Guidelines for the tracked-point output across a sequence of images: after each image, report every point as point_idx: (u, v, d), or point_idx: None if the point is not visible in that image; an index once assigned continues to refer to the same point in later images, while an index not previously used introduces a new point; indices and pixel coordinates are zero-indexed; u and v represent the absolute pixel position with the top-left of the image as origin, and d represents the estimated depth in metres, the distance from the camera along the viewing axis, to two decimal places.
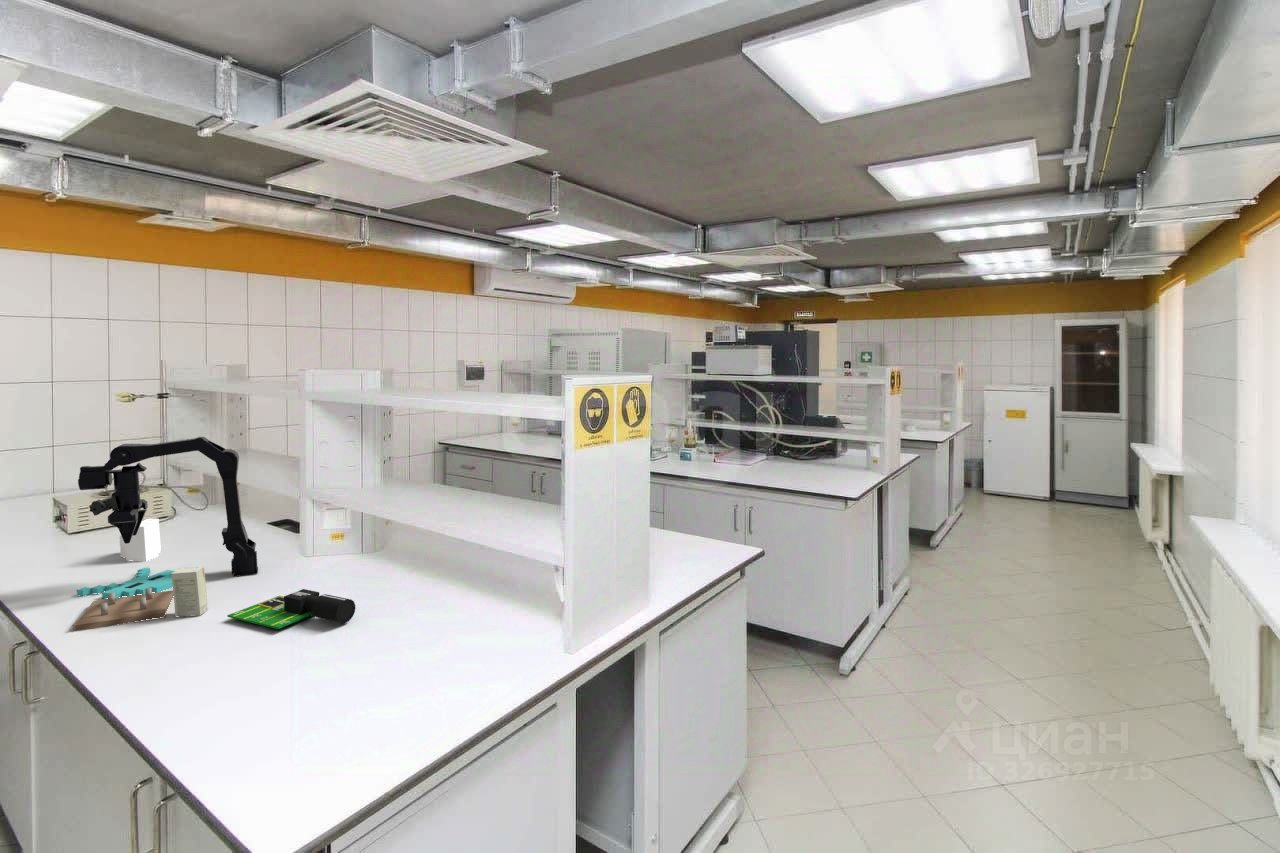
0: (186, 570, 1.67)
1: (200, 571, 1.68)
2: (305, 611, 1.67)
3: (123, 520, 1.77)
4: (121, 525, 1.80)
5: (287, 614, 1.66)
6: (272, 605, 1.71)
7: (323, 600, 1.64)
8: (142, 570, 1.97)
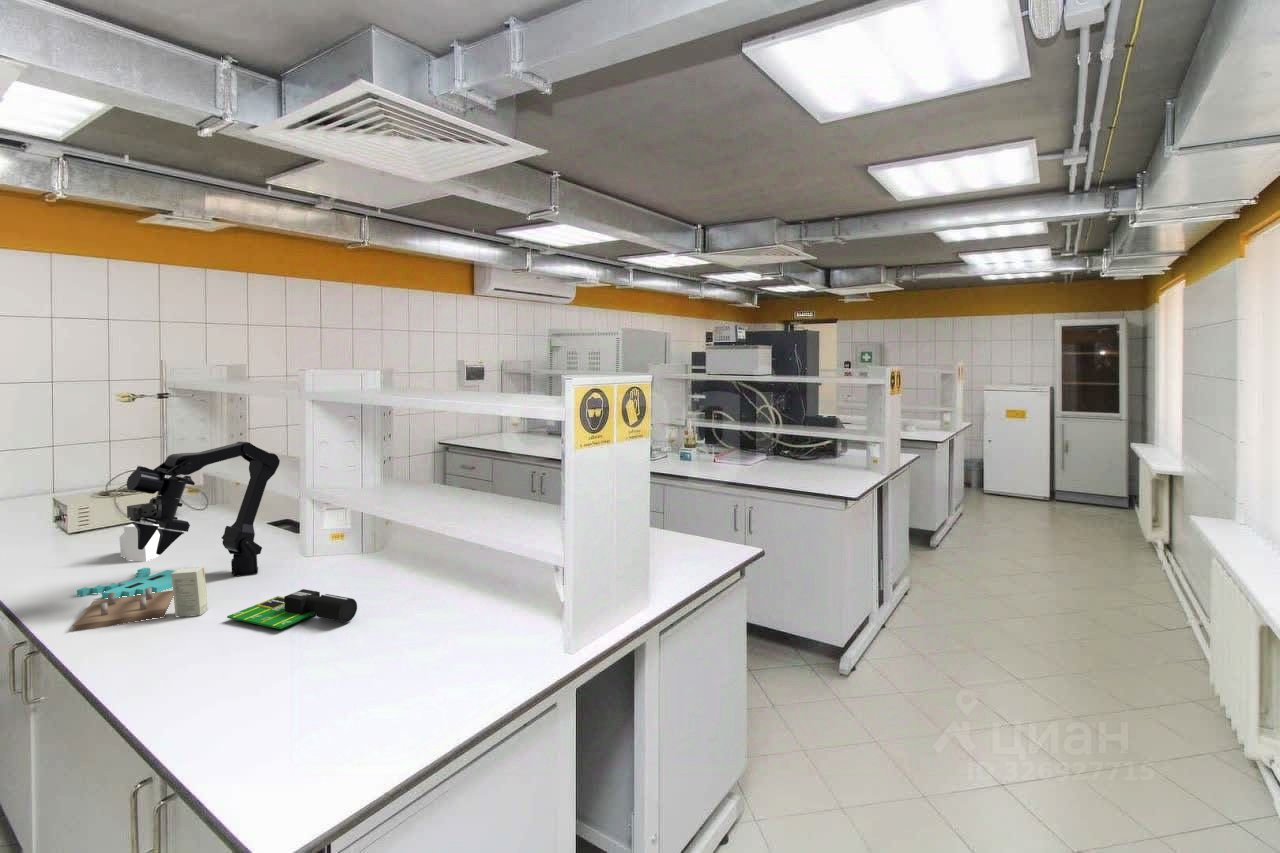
0: (186, 570, 1.67)
1: (200, 571, 1.68)
2: (306, 611, 1.67)
3: (179, 529, 1.74)
4: (165, 534, 1.74)
5: (288, 614, 1.66)
6: (272, 605, 1.70)
7: (325, 600, 1.64)
8: (142, 570, 1.97)
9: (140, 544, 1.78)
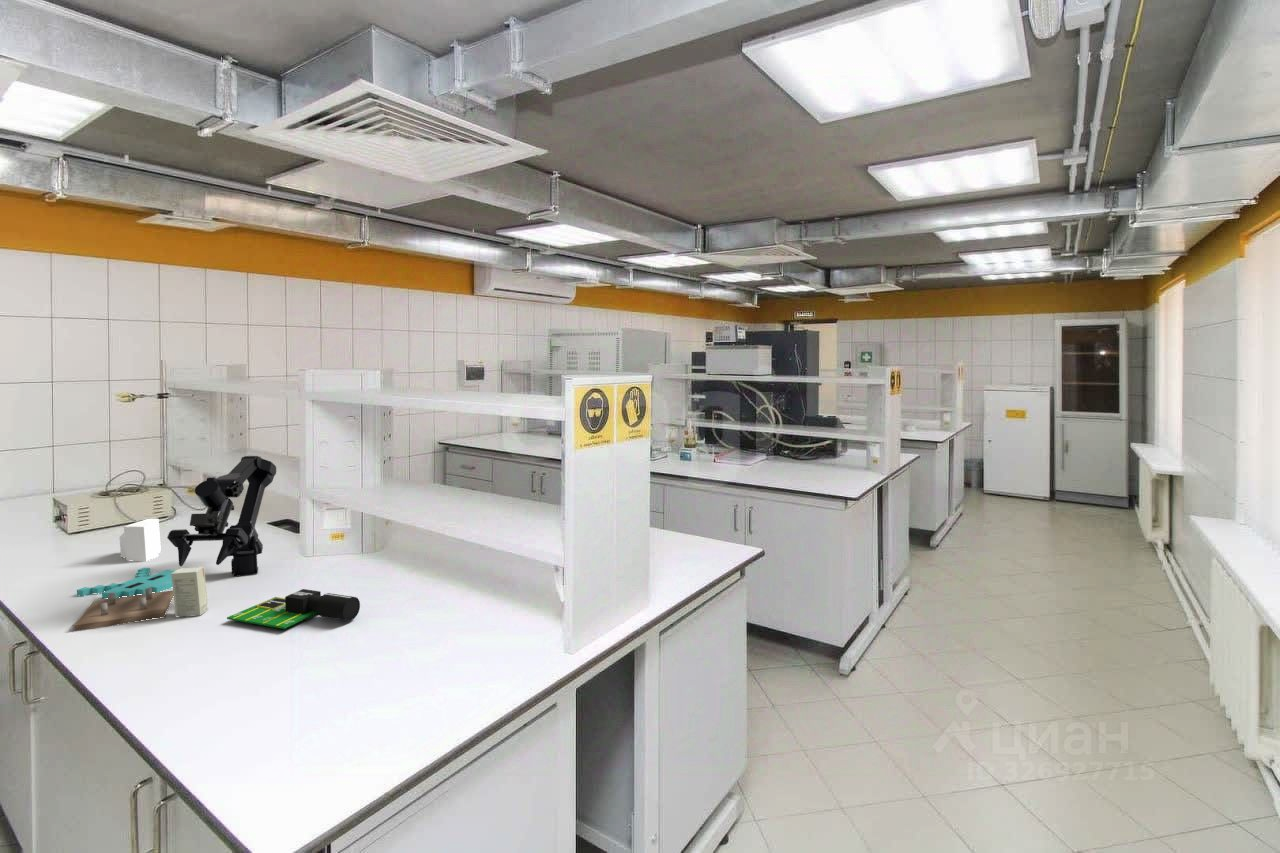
0: (186, 570, 1.67)
1: (200, 571, 1.68)
2: (308, 610, 1.67)
3: (244, 539, 1.80)
4: None
5: (289, 614, 1.66)
6: (271, 606, 1.70)
7: (328, 599, 1.65)
8: (142, 570, 1.97)
9: (182, 560, 1.73)
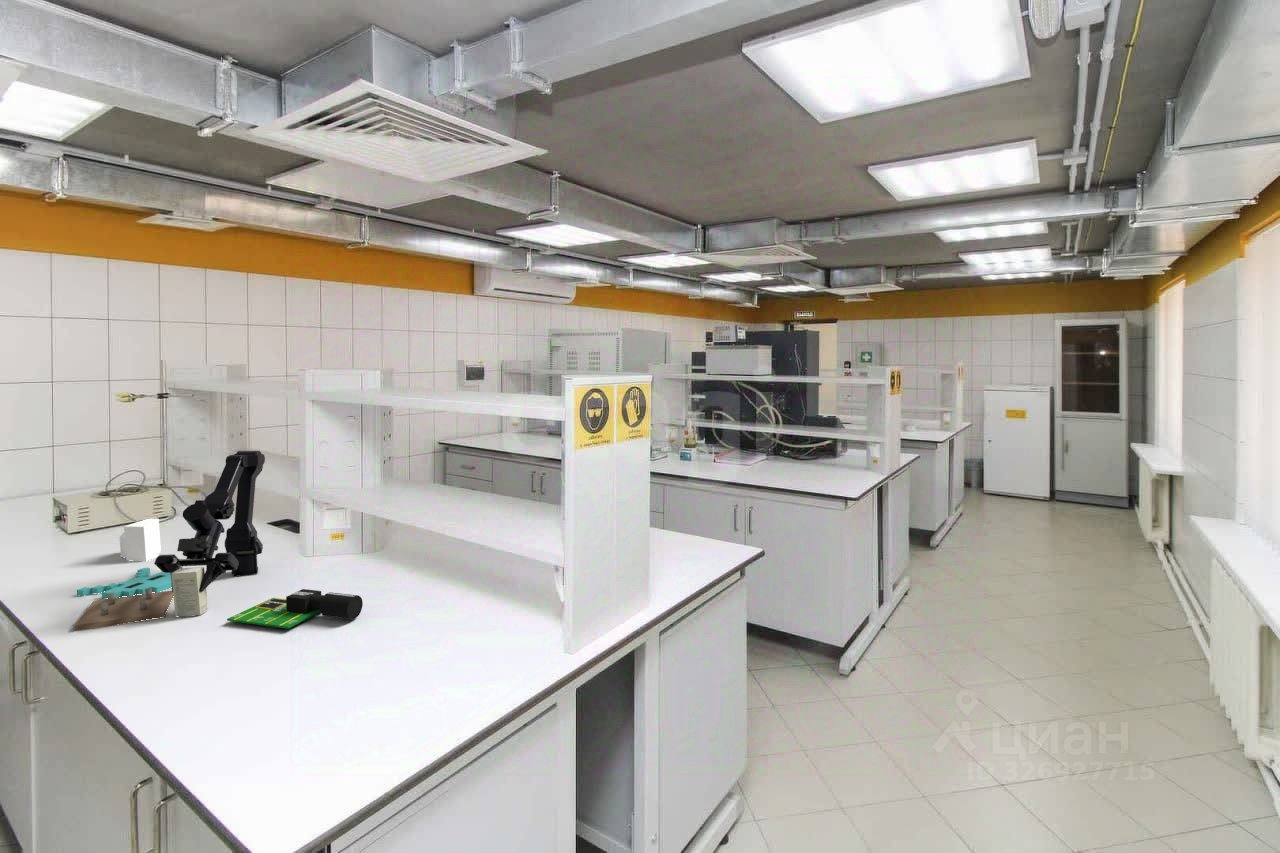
0: (186, 570, 1.67)
1: (200, 571, 1.68)
2: (309, 610, 1.67)
3: (234, 564, 1.74)
4: None
5: (291, 614, 1.66)
6: (271, 607, 1.70)
7: (330, 598, 1.65)
8: (142, 570, 1.97)
9: None
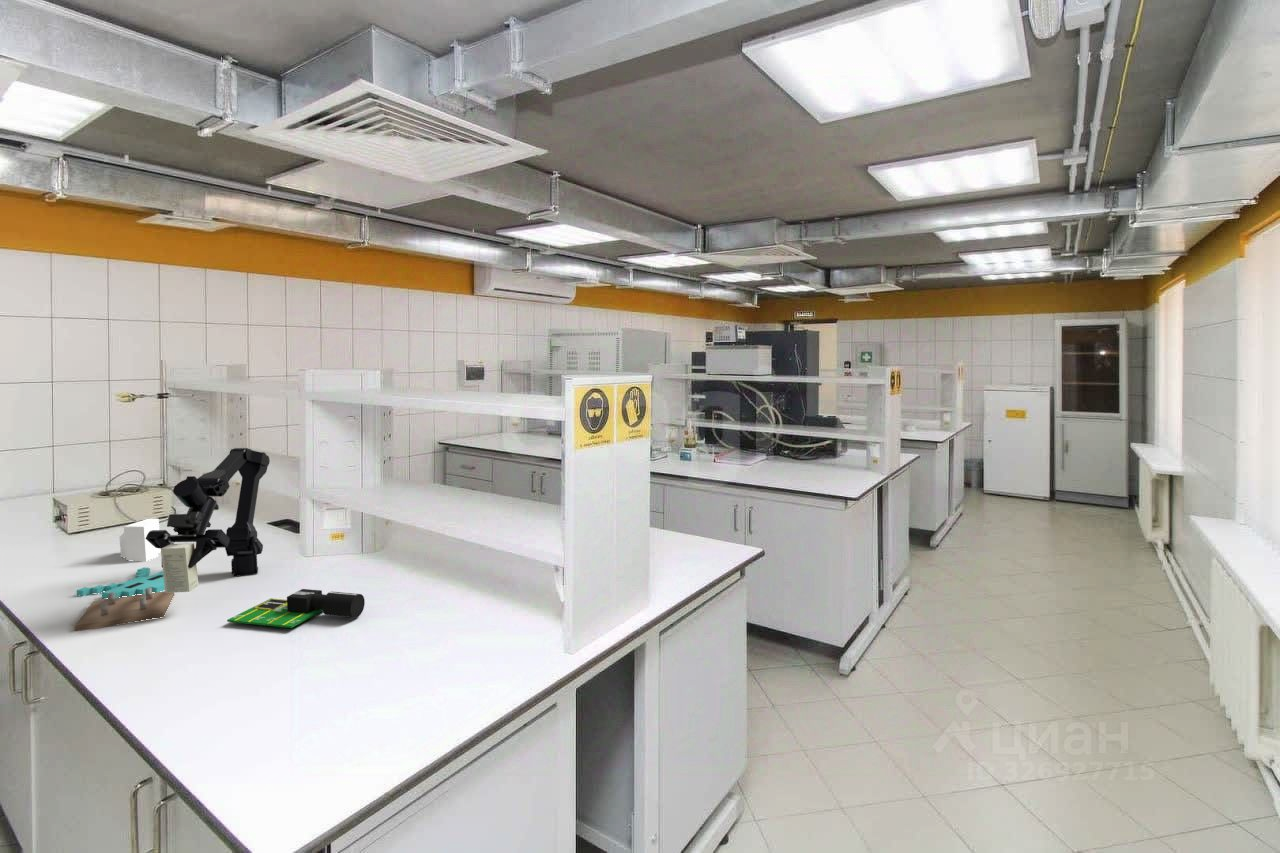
0: (175, 546, 1.66)
1: (189, 547, 1.67)
2: (311, 610, 1.68)
3: (224, 541, 1.72)
4: None
5: (292, 614, 1.66)
6: (270, 607, 1.69)
7: (333, 597, 1.66)
8: (142, 570, 1.97)
9: None
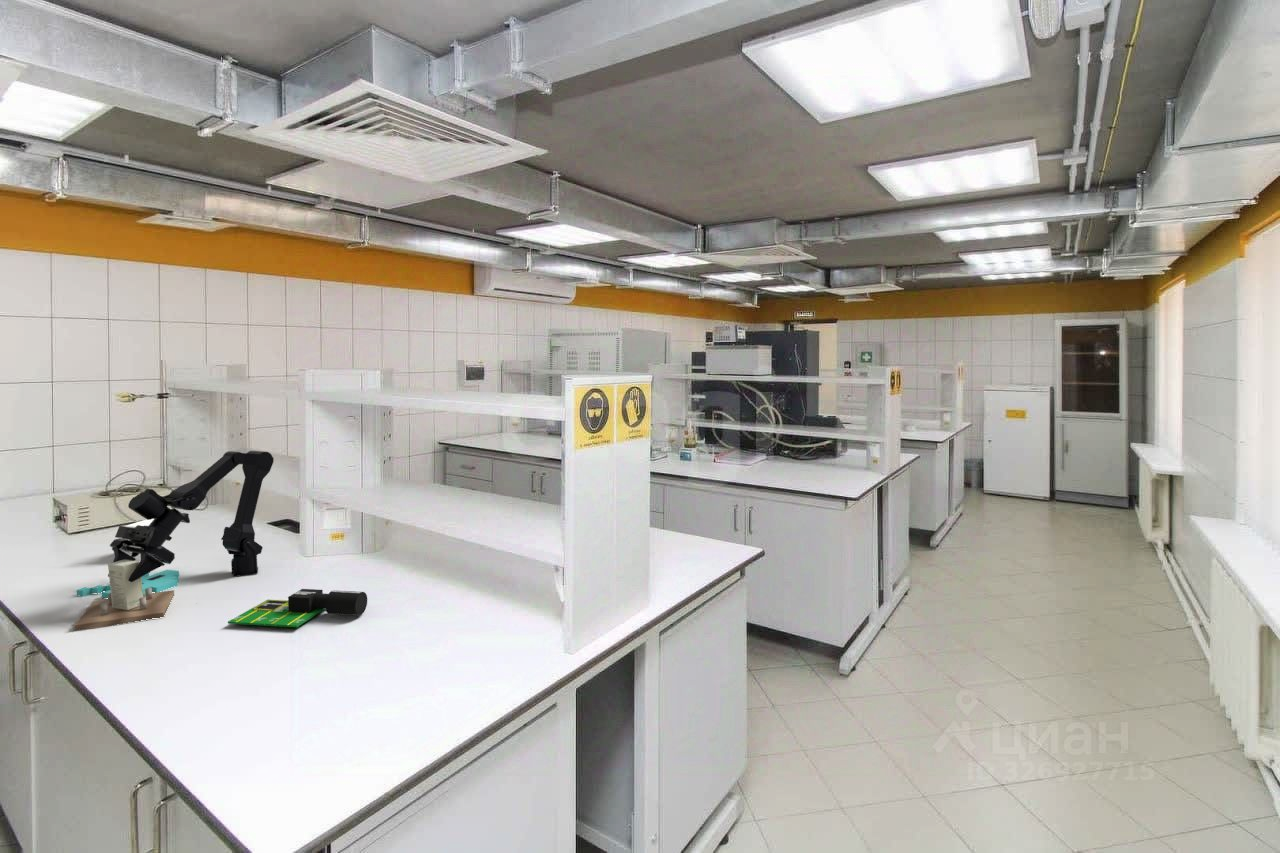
0: (121, 563, 1.68)
1: (131, 566, 1.67)
2: (313, 609, 1.68)
3: (164, 558, 1.69)
4: (146, 561, 1.68)
5: (294, 614, 1.66)
6: (270, 608, 1.69)
7: (336, 595, 1.67)
8: None
9: None
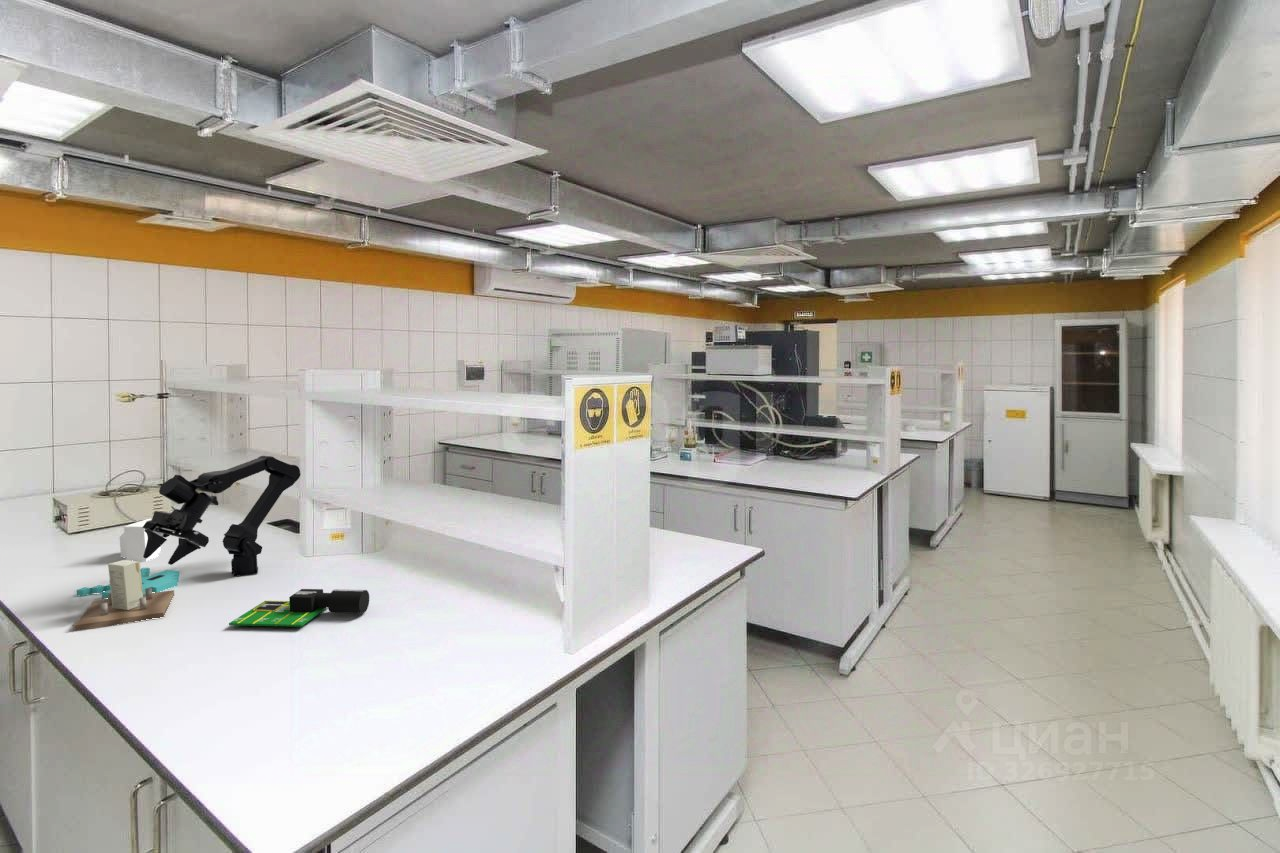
0: (121, 563, 1.68)
1: (131, 565, 1.67)
2: (314, 608, 1.69)
3: (200, 542, 1.79)
4: (184, 545, 1.77)
5: (296, 613, 1.66)
6: (270, 609, 1.68)
7: (339, 594, 1.68)
8: (142, 570, 1.97)
9: (147, 552, 1.78)
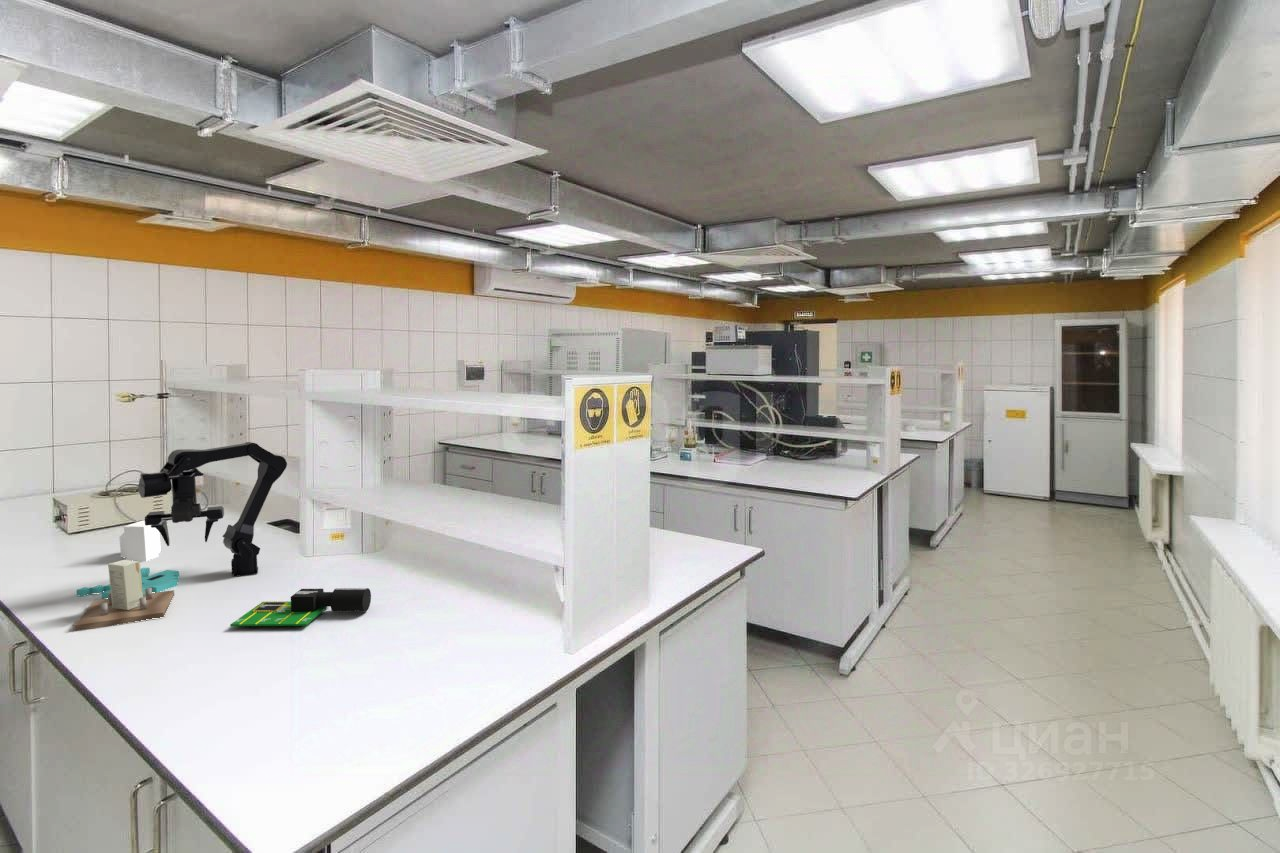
0: (121, 563, 1.68)
1: (131, 565, 1.67)
2: (316, 608, 1.69)
3: (223, 514, 1.92)
4: None
5: (298, 613, 1.66)
6: (270, 609, 1.68)
7: (341, 593, 1.69)
8: (141, 570, 1.97)
9: (168, 540, 1.85)
